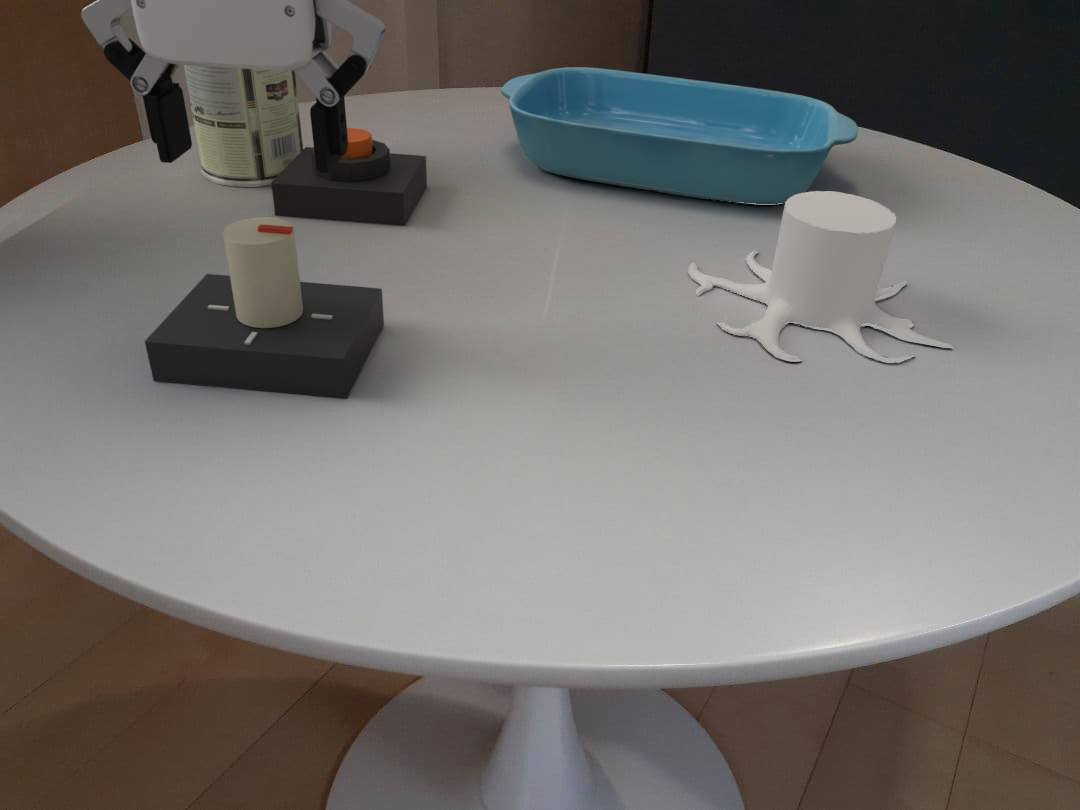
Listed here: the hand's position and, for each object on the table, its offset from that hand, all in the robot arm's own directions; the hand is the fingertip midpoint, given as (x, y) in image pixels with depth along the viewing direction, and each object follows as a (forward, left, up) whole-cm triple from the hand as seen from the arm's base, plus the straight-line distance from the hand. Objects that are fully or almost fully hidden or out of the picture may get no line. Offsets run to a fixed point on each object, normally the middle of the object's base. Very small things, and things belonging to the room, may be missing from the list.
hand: (253, 160), depth 57 cm
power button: (-2, +28, -9) cm, 30 cm away
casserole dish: (+28, +44, -14) cm, 54 cm away
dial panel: (0, 0, -14) cm, 14 cm away
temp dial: (0, 0, -11) cm, 11 cm away
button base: (-2, +28, -14) cm, 31 cm away
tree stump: (+39, +14, -14) cm, 43 cm away
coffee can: (-14, +34, -14) cm, 39 cm away
